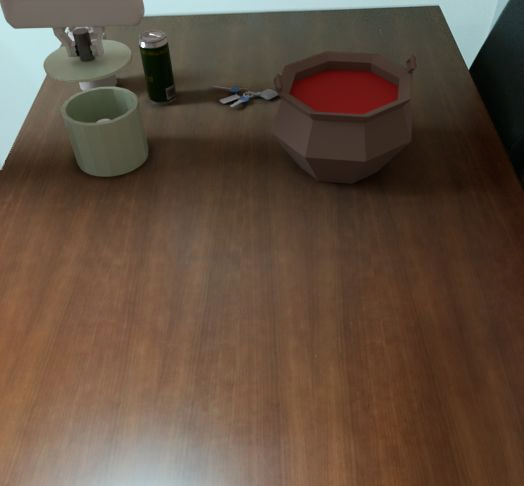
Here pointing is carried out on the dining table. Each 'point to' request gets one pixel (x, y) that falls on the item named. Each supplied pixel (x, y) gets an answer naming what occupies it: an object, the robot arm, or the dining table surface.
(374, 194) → the dining table surface
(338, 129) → the brown cauldron
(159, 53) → the beer can
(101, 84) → the can
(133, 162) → the pot
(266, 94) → the key chain
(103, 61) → the lid
